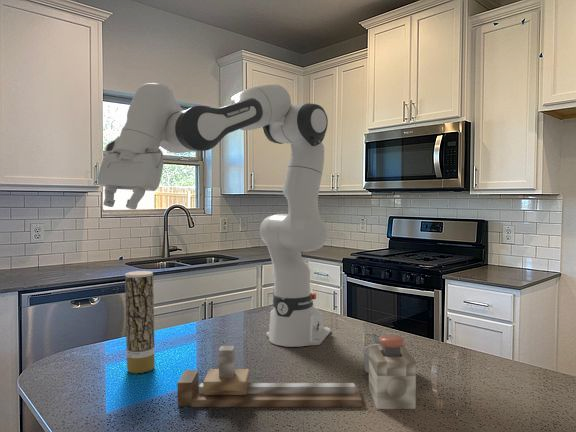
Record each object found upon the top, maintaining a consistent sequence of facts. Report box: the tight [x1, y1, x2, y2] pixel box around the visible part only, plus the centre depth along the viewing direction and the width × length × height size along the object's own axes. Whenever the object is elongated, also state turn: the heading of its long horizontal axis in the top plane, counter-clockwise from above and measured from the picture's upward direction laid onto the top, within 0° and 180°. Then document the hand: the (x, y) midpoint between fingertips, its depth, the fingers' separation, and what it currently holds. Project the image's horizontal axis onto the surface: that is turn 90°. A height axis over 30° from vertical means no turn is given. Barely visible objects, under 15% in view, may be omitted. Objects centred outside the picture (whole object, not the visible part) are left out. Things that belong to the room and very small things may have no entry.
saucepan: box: [362, 333, 410, 374], centre depth 116 cm, size 12×20×6 cm, turn 1°
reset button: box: [378, 334, 405, 357], centre depth 97 cm, size 5×5×4 cm
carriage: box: [202, 345, 250, 395], centre depth 98 cm, size 9×7×9 cm
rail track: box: [176, 345, 417, 410], centre depth 98 cm, size 50×10×10 cm, turn 89°
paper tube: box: [124, 270, 156, 374], centre depth 114 cm, size 7×7×25 cm
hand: (118, 207), depth 99 cm, fingers open, 8 cm apart
